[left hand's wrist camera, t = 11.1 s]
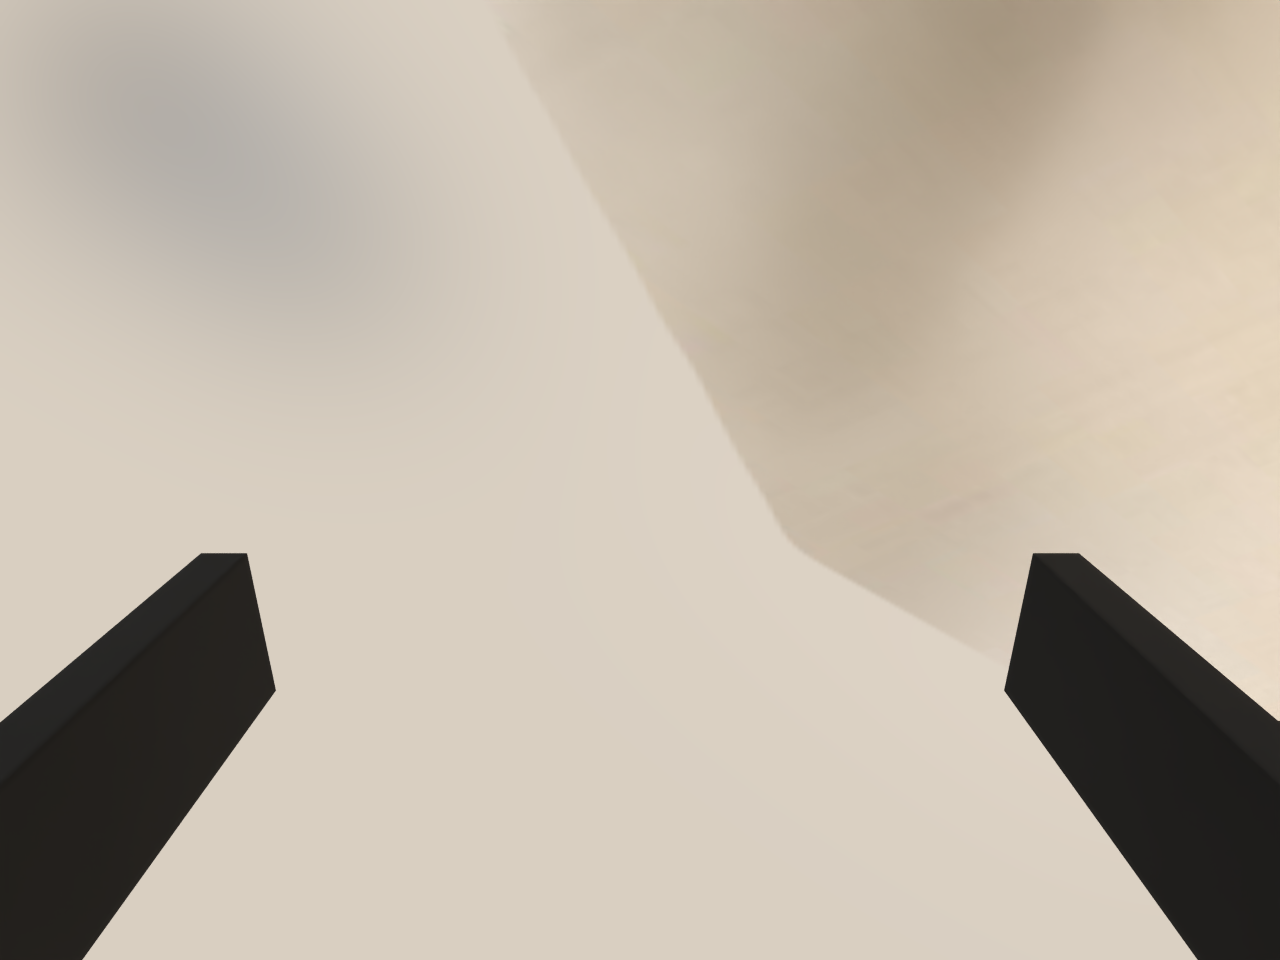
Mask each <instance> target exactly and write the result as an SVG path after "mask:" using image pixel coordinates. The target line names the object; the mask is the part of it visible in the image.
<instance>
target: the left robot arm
mask: <svg viewBox="0 0 1280 960" xmlns="http://www.w3.org/2000/svg"><path fill="white" fill-rule="evenodd" d="M275 691H276V689H275V684H274V680H273V675H272V670H271V665H270V661H269V656H268V651H267V647H266V642H265V637H264V632H263V627H262V623H261V618H260V613H259V608H258V604H257V599H256V594H255V589H254V585H253V580H252V575H251V570H250V566H249V561H248V556H247V553H201V554H200V555H199V556H197V557H196V558H195V559H194V560H193V561H191V562H190V563H189V564H188V565H187V566H186V567H184V568H183V569H182V570H181V571H180V572H178V573H177V574H176V575H175V576H174V577H173V578H171V579H170V580H169V581H168V582H166V583H165V584H164V585H163V586H162V587H161V588H159V589H158V590H157V591H156V592H155V593H153V594H152V595H151V596H150V597H149V598H148V599H146V600H145V601H144V602H143V603H142V604H140V605H139V606H138V607H137V608H136V609H134V610H133V611H132V612H131V613H130V614H129V615H127V616H126V617H125V618H124V619H123V620H121V621H120V622H119V623H118V624H117V625H115V626H114V627H113V628H112V629H111V630H109V631H108V632H107V633H106V634H105V635H104V636H102V637H101V638H100V639H99V640H98V641H96V642H95V643H94V644H93V645H92V646H91V647H89V648H88V649H87V650H86V651H85V652H83V653H82V654H81V655H80V656H79V657H77V658H76V659H75V660H74V661H73V662H72V663H70V664H69V665H68V666H67V667H66V668H64V669H63V670H62V671H61V672H60V673H58V674H57V675H56V676H55V677H54V678H53V679H51V680H50V681H49V682H48V683H47V684H45V685H44V686H43V687H42V688H41V689H39V690H38V691H37V692H36V693H35V694H34V695H32V696H31V697H30V698H29V699H28V700H26V701H25V702H24V703H23V704H22V705H20V706H19V707H18V708H17V709H16V710H15V711H13V712H12V713H11V714H10V715H9V716H7V717H6V718H5V719H4V720H3V721H1V722H0V960H82V959H83V958H84V957H85V955H86V954H87V952H88V951H89V950H90V948H91V947H92V946H93V944H94V943H95V941H96V940H97V939H98V937H99V936H100V934H101V933H102V932H103V930H104V929H105V927H106V926H107V925H108V923H109V922H110V920H111V919H112V918H113V916H114V915H115V914H116V912H117V911H118V909H119V908H120V907H121V905H122V904H123V902H124V901H125V900H126V898H127V897H128V895H129V894H130V893H131V891H132V890H133V889H134V887H135V886H136V884H137V883H138V882H139V880H140V879H141V877H142V876H143V875H144V873H145V872H146V870H147V869H148V868H149V866H150V865H151V863H152V862H153V861H154V859H155V858H156V856H157V855H158V854H159V852H160V851H161V849H162V848H163V847H164V845H165V844H166V843H167V841H168V840H169V838H170V837H171V836H172V834H173V833H174V831H175V830H176V829H177V827H178V826H179V825H180V823H181V822H182V820H183V819H184V817H185V816H186V815H187V813H188V812H189V811H190V809H191V808H192V806H193V805H194V804H195V802H196V801H197V799H198V798H199V797H200V795H201V794H202V793H203V791H204V790H205V788H206V787H207V786H208V784H209V783H210V781H211V780H212V779H213V777H214V776H215V774H216V773H217V772H218V770H219V769H220V767H221V766H222V765H223V763H224V762H225V760H226V759H227V758H228V756H229V755H230V754H231V752H232V751H233V749H234V748H235V747H236V745H237V744H238V742H239V741H240V740H241V738H242V737H243V735H244V734H245V733H246V731H247V730H248V728H249V727H250V726H251V724H252V723H253V721H254V720H255V719H256V717H257V716H258V715H259V713H260V712H261V710H262V709H263V708H264V706H265V705H266V703H267V702H268V701H269V699H270V698H271V696H272V695H273V694H274V692H275ZM1004 691H1005V692H1006V694H1007V695H1008V696H1009V698H1010V699H1011V701H1012V702H1013V703H1014V705H1015V706H1016V708H1017V709H1018V710H1019V712H1020V713H1021V715H1022V716H1023V717H1024V719H1025V720H1026V722H1027V723H1028V724H1029V726H1030V727H1031V728H1032V730H1033V731H1034V733H1035V734H1036V735H1037V737H1038V738H1039V740H1040V741H1041V742H1042V744H1043V745H1044V747H1045V748H1046V749H1047V751H1048V752H1049V754H1050V755H1051V756H1052V758H1053V759H1054V760H1055V762H1056V763H1057V765H1058V766H1059V767H1060V769H1061V770H1062V772H1063V773H1064V774H1065V776H1066V777H1067V779H1068V780H1069V781H1070V783H1071V784H1072V786H1073V787H1074V788H1075V790H1076V791H1077V792H1078V794H1079V795H1080V797H1081V798H1082V799H1083V801H1084V802H1085V803H1086V805H1087V806H1088V808H1089V809H1090V811H1091V812H1092V813H1093V815H1094V816H1095V818H1096V819H1097V820H1098V822H1099V823H1100V825H1101V826H1102V827H1103V829H1104V830H1105V831H1106V833H1107V834H1108V836H1109V837H1110V838H1111V840H1112V841H1113V843H1114V844H1115V845H1116V847H1117V848H1118V849H1119V851H1120V852H1121V854H1122V855H1123V856H1124V858H1125V859H1126V861H1127V862H1128V863H1129V865H1130V866H1131V868H1132V869H1133V870H1134V872H1135V873H1136V875H1137V876H1138V877H1139V879H1140V880H1141V882H1142V883H1143V884H1144V886H1145V887H1146V889H1147V890H1148V891H1149V893H1150V894H1151V895H1152V897H1153V898H1154V900H1155V901H1156V902H1157V904H1158V905H1159V907H1160V908H1161V909H1162V911H1163V912H1164V914H1165V915H1166V916H1167V918H1168V919H1169V920H1170V922H1171V923H1172V925H1173V926H1174V927H1175V929H1176V930H1177V932H1178V933H1179V934H1180V936H1181V937H1182V939H1183V940H1184V941H1185V943H1186V944H1187V946H1188V947H1189V948H1190V950H1191V951H1192V953H1193V954H1194V955H1195V957H1196V958H1197V959H1198V960H1280V721H1277V720H1276V719H1275V718H1274V717H1273V716H1271V715H1270V714H1269V713H1268V712H1267V711H1265V710H1264V709H1263V708H1262V707H1261V706H1260V705H1258V704H1257V703H1256V702H1255V701H1254V700H1252V699H1251V698H1250V697H1249V696H1248V695H1246V694H1245V693H1244V692H1243V691H1242V690H1241V689H1239V688H1238V687H1237V686H1236V685H1235V684H1233V683H1232V682H1231V681H1230V680H1229V679H1227V678H1226V677H1225V676H1224V675H1223V674H1222V673H1220V672H1219V671H1218V670H1217V669H1216V668H1214V667H1213V666H1212V665H1211V664H1210V663H1208V662H1207V661H1206V660H1205V659H1204V658H1203V657H1201V656H1200V655H1199V654H1198V653H1197V652H1195V651H1194V650H1193V649H1192V648H1191V647H1189V646H1188V645H1187V644H1186V643H1185V642H1184V641H1182V640H1181V639H1180V638H1179V637H1178V636H1176V635H1175V634H1174V633H1173V632H1172V631H1170V630H1169V629H1168V628H1167V627H1166V626H1165V625H1163V624H1162V623H1161V622H1160V621H1159V620H1157V619H1156V618H1155V617H1154V616H1153V615H1152V614H1150V613H1149V612H1148V611H1147V610H1146V609H1144V608H1143V607H1142V606H1141V605H1140V604H1138V603H1137V602H1136V601H1135V600H1134V599H1133V598H1131V597H1130V596H1129V595H1128V594H1127V593H1125V592H1124V591H1123V590H1122V589H1121V588H1119V587H1118V586H1117V585H1116V584H1115V583H1114V582H1112V581H1111V580H1110V579H1109V578H1108V577H1106V576H1105V575H1104V574H1103V573H1102V572H1100V571H1099V570H1098V569H1097V568H1096V567H1095V566H1093V565H1092V564H1091V563H1090V562H1089V561H1087V560H1086V559H1085V558H1084V557H1083V556H1081V555H1080V554H1079V553H1033V556H1032V561H1031V566H1030V570H1029V575H1028V580H1027V585H1026V589H1025V594H1024V599H1023V604H1022V608H1021V613H1020V618H1019V623H1018V627H1017V632H1016V637H1015V642H1014V646H1013V651H1012V656H1011V661H1010V665H1009V670H1008V675H1007V680H1006V684H1005V689H1004Z"/></svg>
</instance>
